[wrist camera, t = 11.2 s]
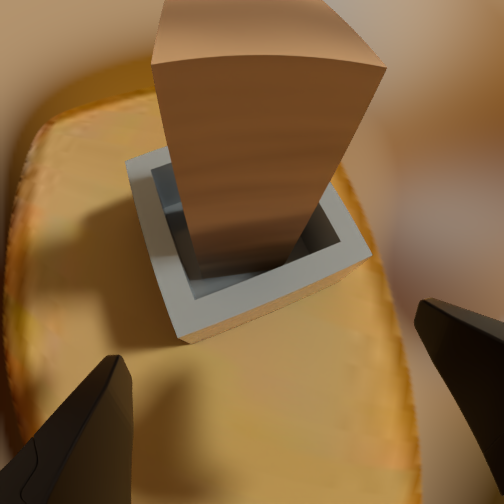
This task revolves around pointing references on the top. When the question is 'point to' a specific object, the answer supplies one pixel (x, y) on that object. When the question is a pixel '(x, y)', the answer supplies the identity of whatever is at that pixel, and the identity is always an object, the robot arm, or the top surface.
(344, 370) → the top surface
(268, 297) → the slate well
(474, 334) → the robot arm
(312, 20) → the walnut block
